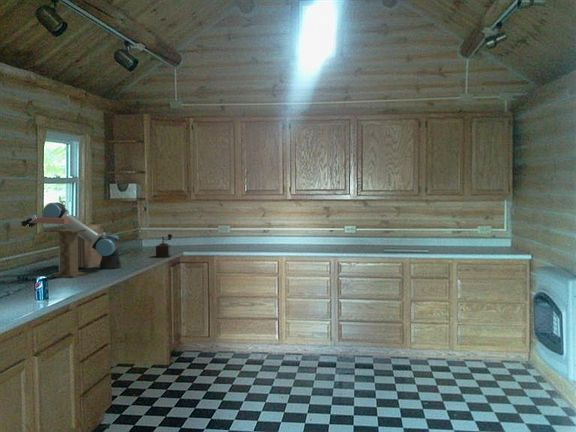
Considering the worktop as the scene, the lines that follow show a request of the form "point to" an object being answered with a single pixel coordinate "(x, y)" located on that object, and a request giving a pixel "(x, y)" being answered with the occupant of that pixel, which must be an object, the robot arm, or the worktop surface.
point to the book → (89, 249)
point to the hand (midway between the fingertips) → (38, 216)
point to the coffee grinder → (164, 248)
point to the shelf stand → (68, 253)
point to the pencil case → (51, 220)
